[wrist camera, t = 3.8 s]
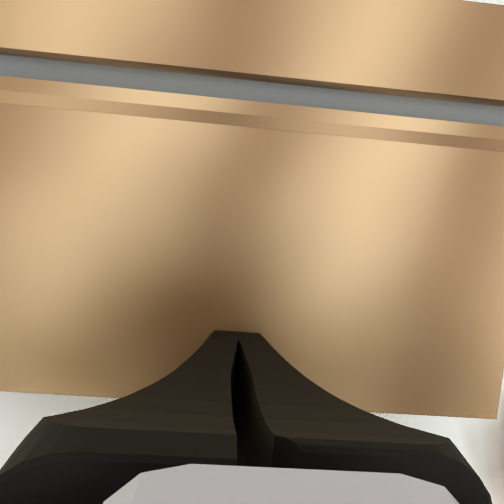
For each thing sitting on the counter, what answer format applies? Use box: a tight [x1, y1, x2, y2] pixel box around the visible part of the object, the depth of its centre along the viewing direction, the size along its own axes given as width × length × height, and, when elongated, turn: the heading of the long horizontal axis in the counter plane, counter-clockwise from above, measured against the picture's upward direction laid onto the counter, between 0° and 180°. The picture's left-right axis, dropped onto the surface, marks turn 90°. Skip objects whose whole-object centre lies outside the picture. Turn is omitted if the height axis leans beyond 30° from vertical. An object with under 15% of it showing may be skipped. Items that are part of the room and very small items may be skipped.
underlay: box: [0, 54, 504, 127], centre depth 13 cm, size 16×12×1 cm
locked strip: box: [0, 0, 504, 107], centre depth 11 cm, size 15×2×1 cm, turn 85°
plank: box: [0, 76, 504, 419], centre depth 12 cm, size 15×8×1 cm, turn 85°
